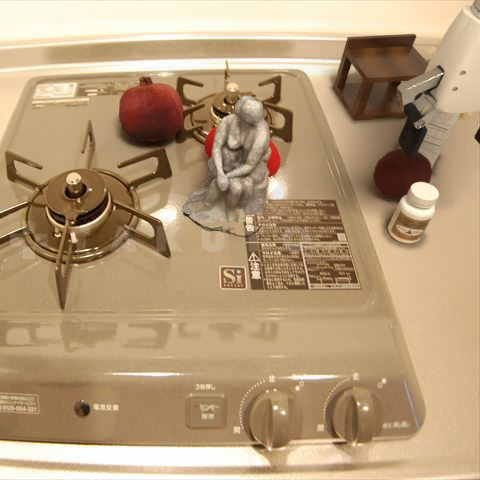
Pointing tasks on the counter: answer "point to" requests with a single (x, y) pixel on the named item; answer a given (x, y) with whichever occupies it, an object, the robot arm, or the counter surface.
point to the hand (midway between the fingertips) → (444, 147)
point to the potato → (400, 173)
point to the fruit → (150, 111)
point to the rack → (377, 74)
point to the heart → (272, 162)
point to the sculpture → (234, 169)
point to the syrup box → (436, 134)
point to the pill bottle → (413, 213)
